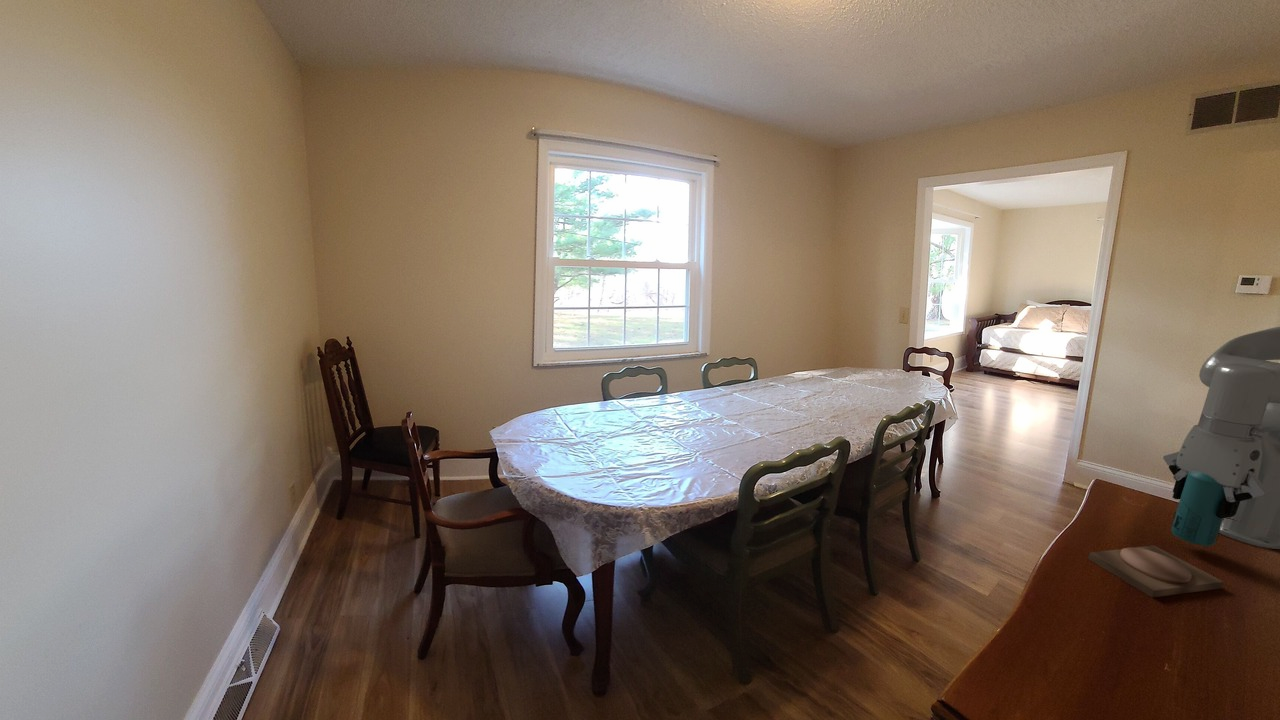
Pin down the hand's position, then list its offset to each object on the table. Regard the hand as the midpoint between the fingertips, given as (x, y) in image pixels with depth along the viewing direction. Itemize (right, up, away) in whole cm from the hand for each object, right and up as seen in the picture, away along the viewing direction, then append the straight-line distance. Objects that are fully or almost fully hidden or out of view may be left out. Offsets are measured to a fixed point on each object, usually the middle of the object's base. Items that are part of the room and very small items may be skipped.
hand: (1201, 506), depth 99 cm
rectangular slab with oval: (-16, -11, -5) cm, 20 cm away
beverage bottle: (0, -9, +2) cm, 9 cm away
